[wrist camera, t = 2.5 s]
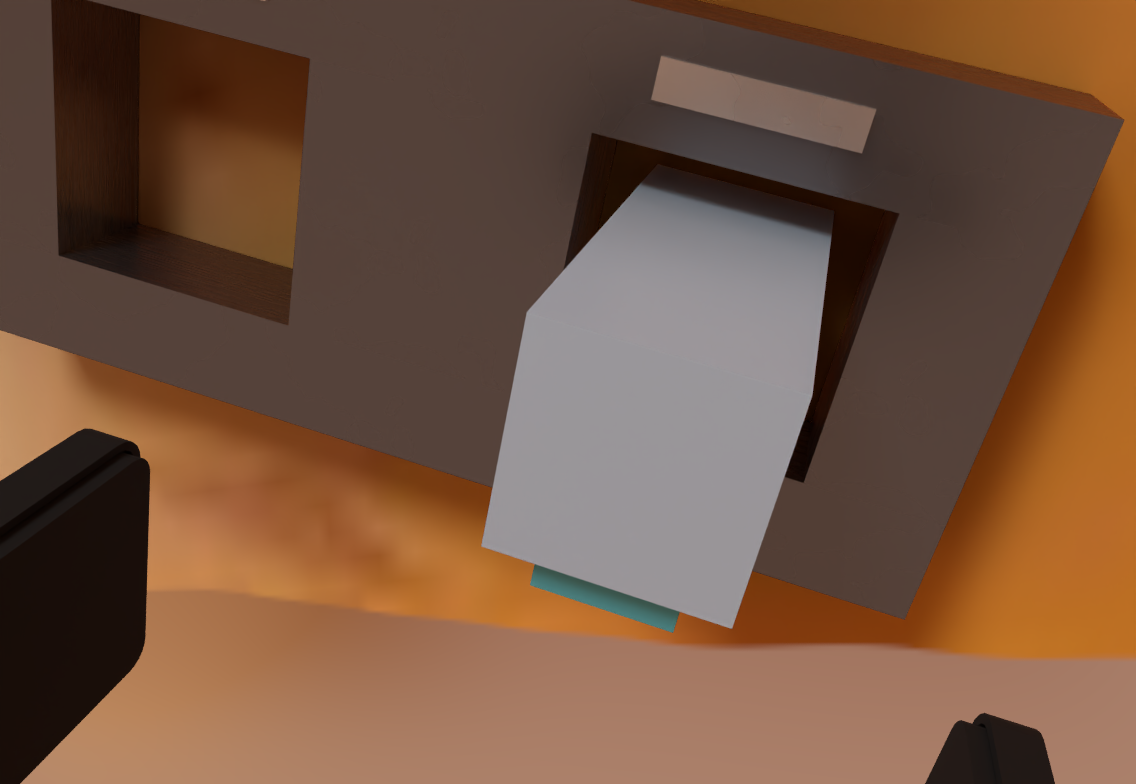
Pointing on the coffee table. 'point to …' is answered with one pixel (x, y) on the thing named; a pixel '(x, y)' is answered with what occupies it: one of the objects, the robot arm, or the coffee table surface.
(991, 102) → the panel
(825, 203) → the coffee table surface
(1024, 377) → the coffee table surface
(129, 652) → the robot arm
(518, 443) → the plug
